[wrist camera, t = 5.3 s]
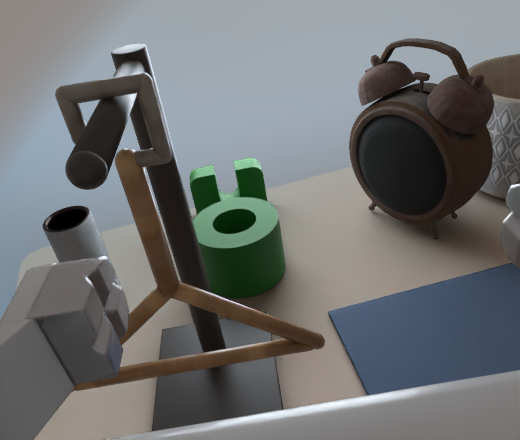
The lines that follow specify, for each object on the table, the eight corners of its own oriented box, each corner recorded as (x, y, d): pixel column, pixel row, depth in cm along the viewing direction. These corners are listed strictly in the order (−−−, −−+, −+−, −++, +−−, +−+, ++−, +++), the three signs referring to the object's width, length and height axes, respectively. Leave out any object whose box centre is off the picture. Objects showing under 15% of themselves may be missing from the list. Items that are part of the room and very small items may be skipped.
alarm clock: (343, 211, 58) (334, 44, 47) (380, 186, 62) (381, 25, 51) (450, 259, 48) (472, 62, 37) (488, 227, 52) (518, 38, 41)
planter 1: (72, 299, 52) (34, 222, 46) (108, 276, 54) (76, 200, 48) (92, 317, 49) (54, 237, 43) (129, 292, 51) (98, 213, 45)
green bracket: (293, 287, 48) (286, 237, 45) (205, 306, 48) (191, 256, 44) (265, 199, 63) (258, 156, 60) (198, 212, 63) (187, 169, 59)
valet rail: (300, 519, 30) (224, 125, 15) (146, 546, 30) (-81, 178, 15) (269, 319, 45) (214, 20, 30) (165, 337, 45) (59, 46, 30)
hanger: (326, 352, 30) (300, 49, 20) (63, 398, 30) (-104, 118, 20) (322, 338, 31) (295, 43, 21) (68, 382, 31) (-89, 108, 21)
